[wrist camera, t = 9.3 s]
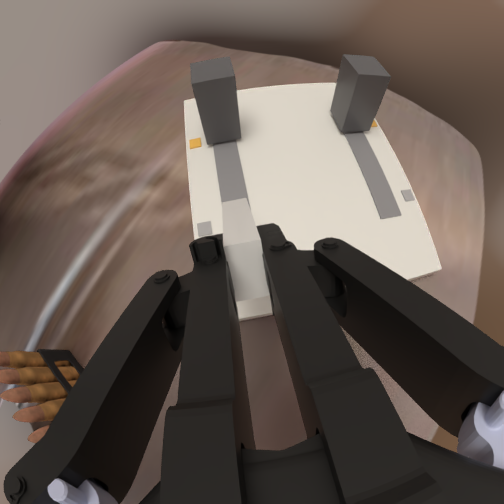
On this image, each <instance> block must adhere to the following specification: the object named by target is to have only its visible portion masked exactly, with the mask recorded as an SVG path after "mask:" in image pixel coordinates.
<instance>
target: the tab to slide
mask: <svg viewBox="0 0 504 504" xmlns="http://www.w3.org/2000/svg"><path fill="white" fill-rule="evenodd" d="M190 67H191V84H192V88H193V92H194V96H195V100H196V104H197V108H198V112H199V115H200V119H201V123H202V127H203V131H204V135H205V139H206V143H207V145H209V144H214V143H219V142H224V141H230V140H235V139H241V128H240V119H239V109H238V99H237V90H236V80H235V74H234V70H233V67H232V63H231V60H230V57H223V58H217V59H211V60H206V61H201V62H196V63H191V64H190Z"/></svg>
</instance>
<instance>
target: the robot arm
mask: <svg viewBox="0 0 504 504" xmlns="http://www.w3.org/2000/svg"><path fill="white" fill-rule="evenodd" d="M222 219H223V233H222V234H216V235H211V236H204V237H201V238H198V239H196V240H194V241H193V242H191V243H190V245H189V247H190V251H191V254H192V258H193V261H194V268H193V271H192V272H190V273H188V274H186V275H183V276H180V277H178V275H177V273H176V271H173V270H162V271H160V272H156V273H155V274H154V275H152V276H151V277H150V278H149V279H148V280H147V281H146V282H145V284H144V285H143V286H142V288H141V289H140V290H139V292H138V293H137V294H136V296H135V297H134V298H133V300H132V301H131V302H130V304H129V305H128V306H127V308H126V309H125V311H124V312H123V313H122V315H121V316H120V318H119V319H118V320H117V322H116V323H115V325H114V326H113V327H112V329H111V330H110V332H109V333H108V334H107V336H106V337H105V339H104V340H103V342H102V343H101V345H100V346H99V348H98V349H97V351H96V352H95V354H94V355H93V356H92V358H91V360H90V361H89V363H88V364H87V366H86V367H85V369H84V370H83V372H82V373H81V375H80V376H79V378H78V380H77V381H76V383H75V384H74V386H73V387H72V389H71V391H70V392H69V394H68V396H67V397H66V399H65V401H64V402H63V404H62V406H61V407H60V409H59V411H58V412H57V414H56V416H55V417H54V419H53V421H52V423H51V424H50V426H49V428H48V430H47V432H46V433H45V435H44V436H43V437H42V438H41V439H40V440H39V441H38V442H37V443H36V444H35V445H34V446H33V447H32V448H31V449H30V450H29V451H28V452H27V453H26V454H25V455H24V456H23V457H22V458H21V459H20V460H19V461H18V462H17V463H16V465H14V466H13V467H12V468H11V469H10V471H9V472H8V474H7V475H6V476H5V480H4V493H5V496H6V498H7V500H8V501H9V503H10V504H120V503H121V502H122V501H123V499H124V498H125V496H126V494H127V493H128V491H129V489H130V488H131V486H132V483H133V481H134V479H135V476H136V474H137V471H138V469H139V466H140V463H141V461H142V458H143V455H144V453H145V450H146V447H147V445H148V442H149V440H150V437H151V434H152V432H153V429H154V427H155V424H156V421H157V419H158V416H159V414H160V411H161V409H162V406H163V404H164V401H165V399H166V396H167V394H168V391H169V389H170V386H171V384H172V381H173V379H174V376H175V374H176V371H177V369H178V366H179V364H180V362H181V368H180V379H179V390H178V401H177V404H176V406H170V407H169V408H168V410H167V412H166V417H165V426H164V438H163V451H162V466H161V481H160V482H159V483H158V484H157V485H156V486H155V487H154V488H153V489H152V490H151V491H150V492H149V493H148V494H147V495H146V497H145V498H144V499H143V500H142V501H141V502H140V503H139V504H504V347H503V346H501V345H499V344H498V343H497V342H495V341H494V340H493V339H491V338H490V337H489V336H487V335H486V334H484V333H483V332H482V331H481V330H479V329H478V328H477V327H475V326H474V325H472V324H471V323H470V322H468V321H467V320H465V319H464V318H463V317H461V316H460V315H458V314H457V313H456V312H454V311H453V310H451V309H450V308H448V307H447V306H446V305H444V304H443V303H441V302H440V301H438V300H437V299H435V298H434V297H432V296H431V295H429V294H428V293H426V292H425V291H423V290H422V289H420V288H419V287H417V286H416V285H414V284H413V283H411V282H410V281H408V280H407V279H405V278H403V277H402V276H400V275H399V274H397V273H396V272H394V271H392V270H391V269H389V268H388V267H386V266H384V265H383V264H381V263H380V262H378V261H376V260H375V259H373V258H371V257H370V256H368V255H367V254H365V253H363V252H362V251H360V250H358V249H357V248H355V247H353V246H352V245H350V244H348V243H346V242H345V241H343V240H341V239H337V238H333V237H330V238H329V237H328V238H325V239H321V240H318V241H316V242H315V243H314V250H297V248H296V246H295V245H294V244H293V243H292V242H290V241H287V240H286V238H285V236H284V234H283V232H282V231H281V229H280V227H279V226H278V225H276V224H274V223H270V224H264V225H259V226H256V224H255V221H254V218H253V216H252V213H251V210H250V207H249V204H248V201H247V199H246V198H242V199H237V200H232V201H227V202H222ZM265 296H270V300H271V306H272V313H273V315H275V319H276V323H277V326H278V330H279V334H280V337H281V341H282V345H283V348H284V352H285V356H286V359H287V363H288V367H289V370H290V374H291V378H292V381H293V385H294V389H295V392H296V396H297V400H298V404H299V407H300V411H301V415H302V418H303V422H304V426H305V430H306V434H307V440H305V441H303V442H301V443H299V444H296V445H294V446H292V447H290V448H288V449H285V450H281V451H272V450H256V447H255V442H254V436H253V428H252V421H251V414H250V406H249V399H248V391H247V383H246V375H245V367H244V359H243V351H242V343H241V334H240V326H239V317H238V308H237V304H236V302H239V301H244V300H249V299H254V298H260V297H265ZM235 299H236V300H235ZM162 322H163V323H162ZM340 326H341V327H342V328H343V329H344V330H345V331H346V332H347V333H348V334H349V335H350V336H351V337H352V338H353V339H354V340H355V341H356V342H357V343H358V344H359V345H360V346H361V347H362V348H363V349H364V350H365V351H366V352H367V353H368V354H369V355H370V356H371V357H372V358H373V359H374V360H375V361H376V362H377V363H378V364H379V365H380V366H381V367H382V368H383V369H384V370H385V371H386V372H387V373H388V374H389V375H390V376H391V377H392V378H393V379H394V380H395V381H396V382H397V383H398V384H399V385H400V386H401V387H402V388H403V390H404V391H405V392H406V393H407V394H408V395H409V396H410V397H411V398H412V399H413V400H414V401H415V402H416V403H417V404H418V405H419V406H420V407H421V408H422V409H423V410H424V411H425V412H426V413H427V414H428V415H429V416H430V417H431V418H432V419H433V420H434V421H435V422H436V423H437V424H438V425H439V426H441V427H442V428H443V429H445V430H446V431H448V432H449V433H450V434H452V435H454V436H456V437H458V442H459V443H458V446H457V452H458V453H456V452H453V451H451V450H448V449H445V448H443V447H441V446H438V445H436V444H434V443H431V442H429V441H427V440H424V439H422V438H420V437H418V436H415V435H413V434H411V433H408V432H407V431H406V429H405V427H404V425H403V423H402V421H401V419H400V417H399V415H398V413H397V411H396V409H395V408H394V406H393V404H392V402H391V400H390V398H389V396H388V394H387V392H386V390H385V388H384V386H383V384H382V383H381V381H380V379H379V377H378V375H377V374H376V372H375V371H374V370H373V369H371V368H370V367H369V368H366V369H364V368H362V366H361V365H360V363H359V361H358V359H357V357H356V355H355V353H354V352H353V350H352V348H351V346H350V344H349V342H348V340H347V338H346V336H345V334H344V333H343V331H342V329H341V327H340Z"/></svg>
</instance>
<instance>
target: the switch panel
mask: <svg viewBox="0 0 504 504" xmlns="http://www.w3.org/2000/svg"><path fill="white" fill-rule="evenodd" d="M335 88H336V83H308V84H291V85H278V86H268V87H259V88H251V89H244V90H237V99H238V109H239V119H240V128H241V139H235V140H230V141H224V142H219V143H214V144H209V145H207V143H206V139H205V135H204V131H203V127H202V123H201V119H200V115H199V112H198V108H197V104H196V100H195V98H194V99H189V100H185V101H184V115H185V134H186V151H187V165H188V178H189V189H190V200H191V211H192V220H193V230H194V238H195V240H196V239H198V238H201V237H204V236H211V235H216V234H222V233H223V219H222V202H227V201H232V200H237V199H242V198H246V199H247V201H248V204H249V207H250V210H251V213H252V216H253V218H254V221H255V224H256V226H259V225H264V224H270V223H274V224H276V225H278V226H279V227H280V229H281V231H282V232H283V234H284V236H285V238H286V240H287V241H290V242H292V243H293V244H294V245H295V246H296V248H297V250H314V243H315V242H316V241H318V240H321V239H325V238H328V237H329V238H330V237H333V238H337V239H341V240H343V241H345V242H346V243H348V244H350V245H352V246H353V247H355V248H357V249H358V250H360V251H362V252H363V253H365V254H367V255H368V256H370V257H371V258H373V259H375V260H376V261H378V262H380V263H381V264H383V265H384V266H386V267H388V268H389V269H391V270H392V271H394V272H396V273H397V274H399V275H400V276H402V277H403V278H405V279H407V280H408V281H412V280H415V279H418V278H421V277H425V276H428V275H431V274H433V273H435V272H437V271H439V270H441V269H442V268H441V265H440V261H439V258H438V255H437V252H436V249H435V246H434V243H433V240H432V237H431V235H430V232H429V229H428V226H427V224H426V221H425V219H424V216H423V214H422V211H421V209H420V206H419V204H418V201H417V199H416V197H415V195H414V192H413V190H412V188H411V186H410V183H409V181H408V179H407V177H406V175H405V173H404V171H403V169H402V167H401V165H400V163H399V161H398V159H397V157H396V155H395V153H394V151H393V149H392V147H391V146H390V144H389V142H388V140H387V138H386V136H385V135H384V133H383V131H382V129H381V128H380V126H379V124H378V123H377V121H376V119H375V118H374V121H373V123H372V126H371V128H370V130H369V131H355V132H341V131H340V129H339V127H338V125H337V123H336V121H335V119H334V117H333V115H332V113H331V111H330V109H331V105H332V100H333V96H334V92H335ZM235 300H236V299H235ZM236 304H237V308H238V317H239V321H243V320H248V319H254V318H259V317H264V316H269V315H273V313H272V306H271V300H270V296H265V297H260V298H254V299H249V300H244V301H239V302H236Z"/></svg>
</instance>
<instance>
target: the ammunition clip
mask: <svg viewBox="0 0 504 504" xmlns="http://www.w3.org/2000/svg"><path fill="white" fill-rule="evenodd" d="M0 366H3V367H10V368H16V369H2V370H0V382H1V383H5V384H17V385H27V386H25V387H18V388H13V389H9V390H7V391H4V392H3V393H2V394H1V395H0V397H1V398H2V399H4V400H7V401H11V402H16V403H26V402H28V403H32V402H36V403H43V404H39V405H36V406H31V407H27V408H24V409H21V410H19V411H17V412H16V413H15V414H14V415H13V418H14V419H15V420H18V421H21V422H39V421H47V420H51V421H53V419H54V417H55V416H56V414H57V412H58V411H59V409H60V407H61V406H62V404H63V402H64V401H65V399H66V397H67V396H68V394H69V392H70V391H71V389H72V387H73V386H74V384H75V383H76V381H77V380H78V378H79V376H80V375H81V373H82V372H83V370H84V369H83V368H82V367H81V365H80V364H79V363H78V362H77V360H76V359H75V358H74V356H73V355H72V354H71V352H70V351H69V350H46V349H38V350H37V352H27V351H14V352H0ZM49 426H50V425H49ZM49 426H45V427H42V428H40V429H38V430H36V431H34V432H33V433H31V434H30V435H29V437H28V441H30V442H33V443H37V442H38V441H39V440H40V439H41V438H42V437H43V436H44V435H45V433H46V432H47V430H48V428H49Z"/></svg>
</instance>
